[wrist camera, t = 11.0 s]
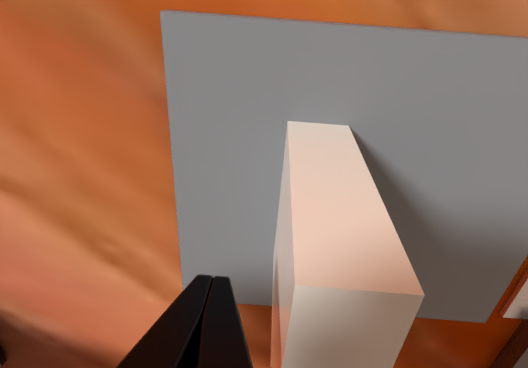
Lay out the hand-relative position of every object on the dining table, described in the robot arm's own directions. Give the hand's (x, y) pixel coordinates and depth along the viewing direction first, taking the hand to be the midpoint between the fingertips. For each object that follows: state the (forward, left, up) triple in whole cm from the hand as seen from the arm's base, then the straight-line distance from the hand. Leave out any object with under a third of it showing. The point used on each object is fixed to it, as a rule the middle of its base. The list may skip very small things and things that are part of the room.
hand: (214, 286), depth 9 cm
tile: (0, -3, -5) cm, 5 cm away
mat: (0, -5, -5) cm, 7 cm away
